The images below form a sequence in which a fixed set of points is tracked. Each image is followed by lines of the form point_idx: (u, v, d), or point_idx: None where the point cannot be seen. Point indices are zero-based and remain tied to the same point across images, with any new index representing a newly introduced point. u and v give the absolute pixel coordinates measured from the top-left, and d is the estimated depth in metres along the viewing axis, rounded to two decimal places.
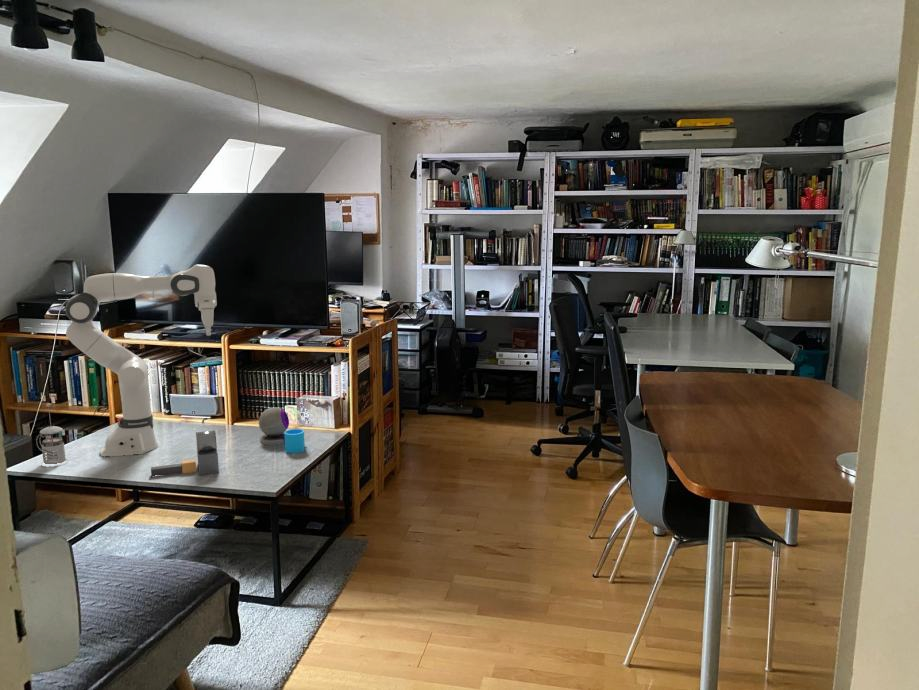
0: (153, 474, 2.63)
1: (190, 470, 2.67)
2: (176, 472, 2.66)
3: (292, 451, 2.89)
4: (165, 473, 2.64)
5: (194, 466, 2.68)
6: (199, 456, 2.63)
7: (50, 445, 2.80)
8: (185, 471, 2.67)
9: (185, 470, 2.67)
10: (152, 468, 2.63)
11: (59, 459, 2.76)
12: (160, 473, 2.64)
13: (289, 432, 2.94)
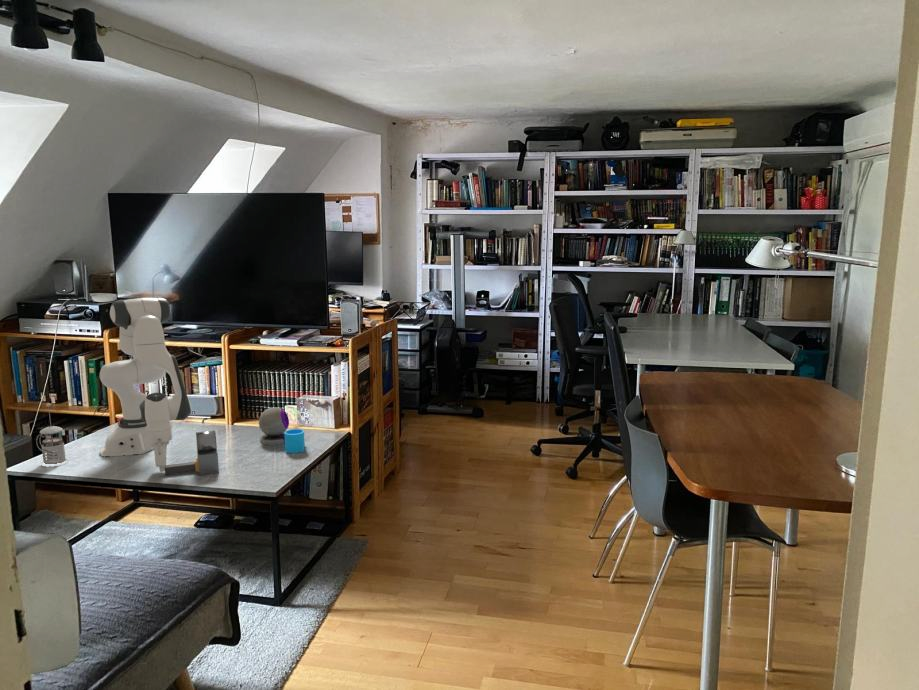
0: (166, 472, 2.64)
1: None
2: (189, 470, 2.68)
3: (292, 451, 2.89)
4: (178, 471, 2.66)
5: None
6: (199, 456, 2.63)
7: (50, 445, 2.80)
8: (198, 469, 2.68)
9: (198, 468, 2.68)
10: (166, 466, 2.65)
11: (59, 459, 2.76)
12: (173, 471, 2.65)
13: (289, 432, 2.94)
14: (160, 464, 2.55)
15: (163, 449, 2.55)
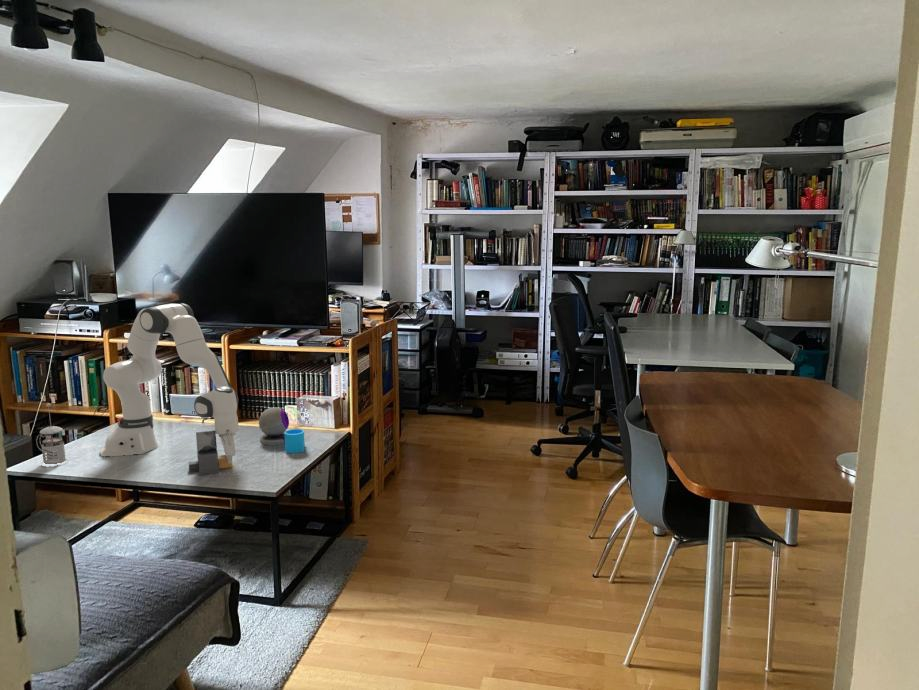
0: (191, 469, 2.68)
1: (226, 465, 2.72)
2: None
3: (292, 451, 2.89)
4: None
5: None
6: (199, 456, 2.63)
7: (50, 445, 2.80)
8: (222, 466, 2.72)
9: (222, 465, 2.72)
10: (190, 463, 2.69)
11: (59, 459, 2.76)
12: (197, 468, 2.69)
13: (289, 432, 2.94)
14: (230, 454, 2.64)
15: (233, 439, 2.65)
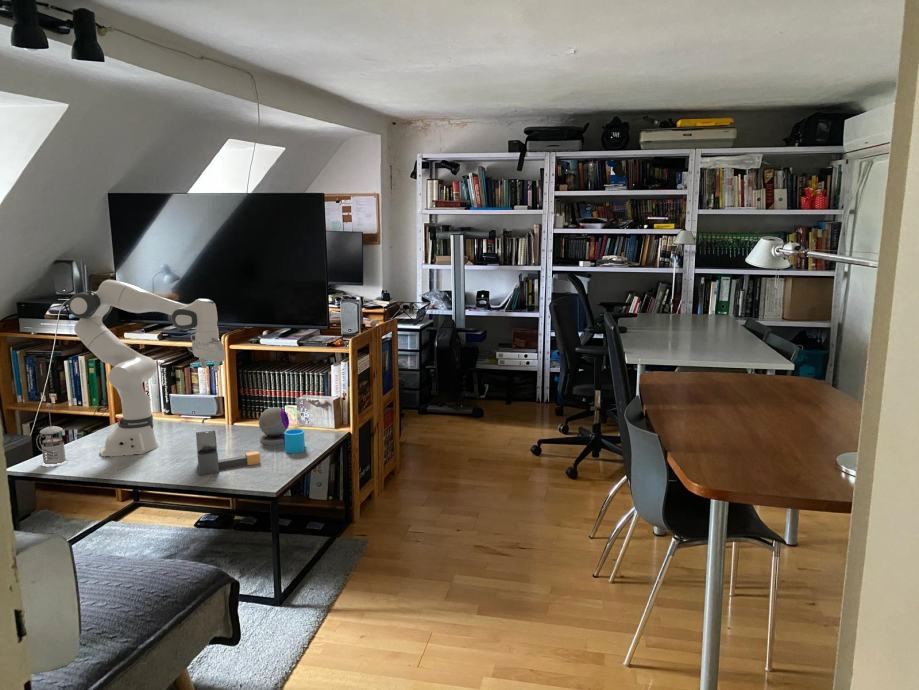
0: (220, 466, 2.70)
1: (255, 462, 2.76)
2: (241, 464, 2.74)
3: (292, 451, 2.89)
4: (231, 465, 2.73)
5: (258, 458, 2.77)
6: (199, 456, 2.63)
7: (50, 445, 2.80)
8: (250, 463, 2.75)
9: (250, 462, 2.75)
10: (219, 461, 2.71)
11: (59, 459, 2.76)
12: (227, 465, 2.72)
13: (289, 432, 2.94)
14: (221, 359, 2.85)
15: (222, 345, 2.86)
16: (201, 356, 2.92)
